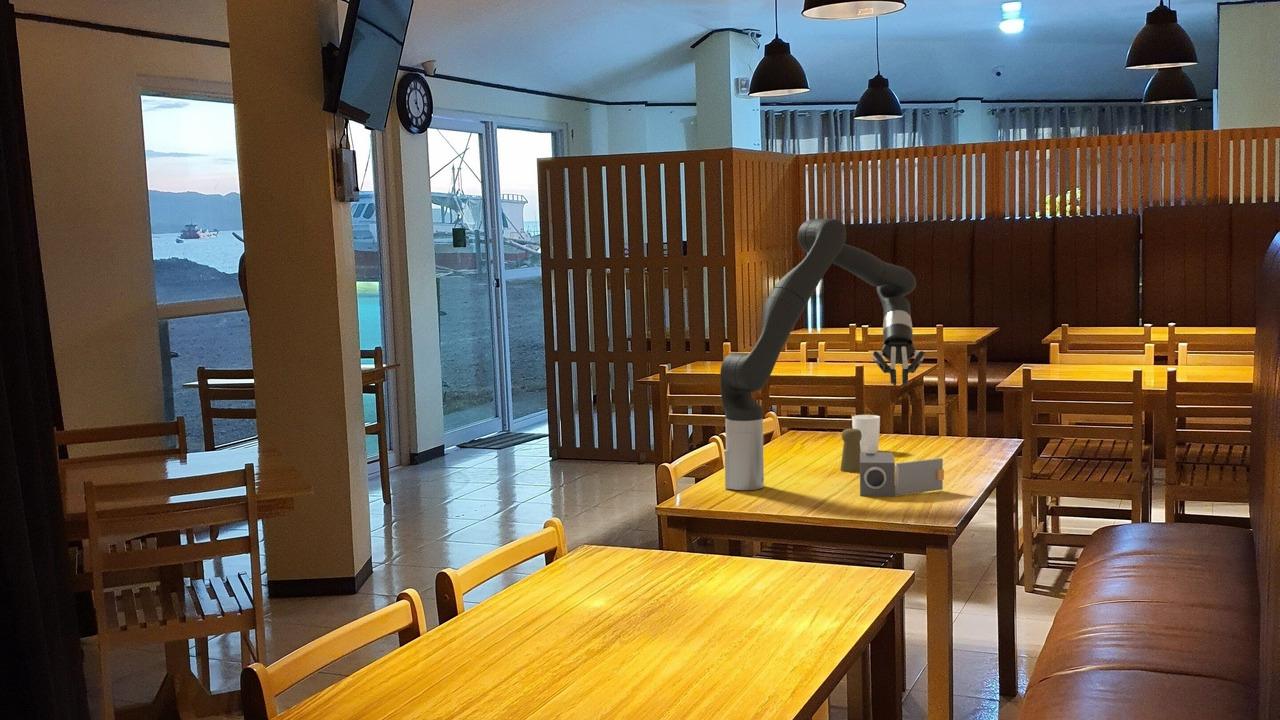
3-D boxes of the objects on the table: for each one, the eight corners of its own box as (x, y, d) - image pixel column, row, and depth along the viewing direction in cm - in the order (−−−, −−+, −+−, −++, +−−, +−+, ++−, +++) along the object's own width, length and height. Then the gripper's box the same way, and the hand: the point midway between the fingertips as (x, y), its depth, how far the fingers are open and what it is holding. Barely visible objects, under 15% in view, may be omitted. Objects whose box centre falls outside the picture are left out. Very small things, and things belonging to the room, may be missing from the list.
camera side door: (894, 494, 279) (894, 463, 279) (940, 488, 285) (940, 458, 284) (898, 496, 278) (898, 464, 277) (944, 490, 283) (944, 459, 283)
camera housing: (860, 496, 280) (860, 460, 279) (859, 483, 295) (859, 449, 294) (894, 497, 278) (894, 461, 278) (892, 484, 293) (892, 450, 292)
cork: (856, 473, 308) (856, 431, 307) (836, 470, 312) (835, 429, 311) (867, 469, 313) (867, 428, 312) (846, 467, 317) (846, 426, 316)
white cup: (850, 453, 338) (850, 418, 337) (853, 448, 345) (853, 414, 344) (878, 454, 335) (878, 419, 334) (881, 449, 343) (881, 415, 342)
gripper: (871, 322, 309) (872, 374, 299) (925, 322, 307) (928, 374, 296) (870, 341, 315) (871, 392, 304) (923, 340, 313) (926, 392, 302)
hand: (899, 383), depth 300 cm, fingers closed
